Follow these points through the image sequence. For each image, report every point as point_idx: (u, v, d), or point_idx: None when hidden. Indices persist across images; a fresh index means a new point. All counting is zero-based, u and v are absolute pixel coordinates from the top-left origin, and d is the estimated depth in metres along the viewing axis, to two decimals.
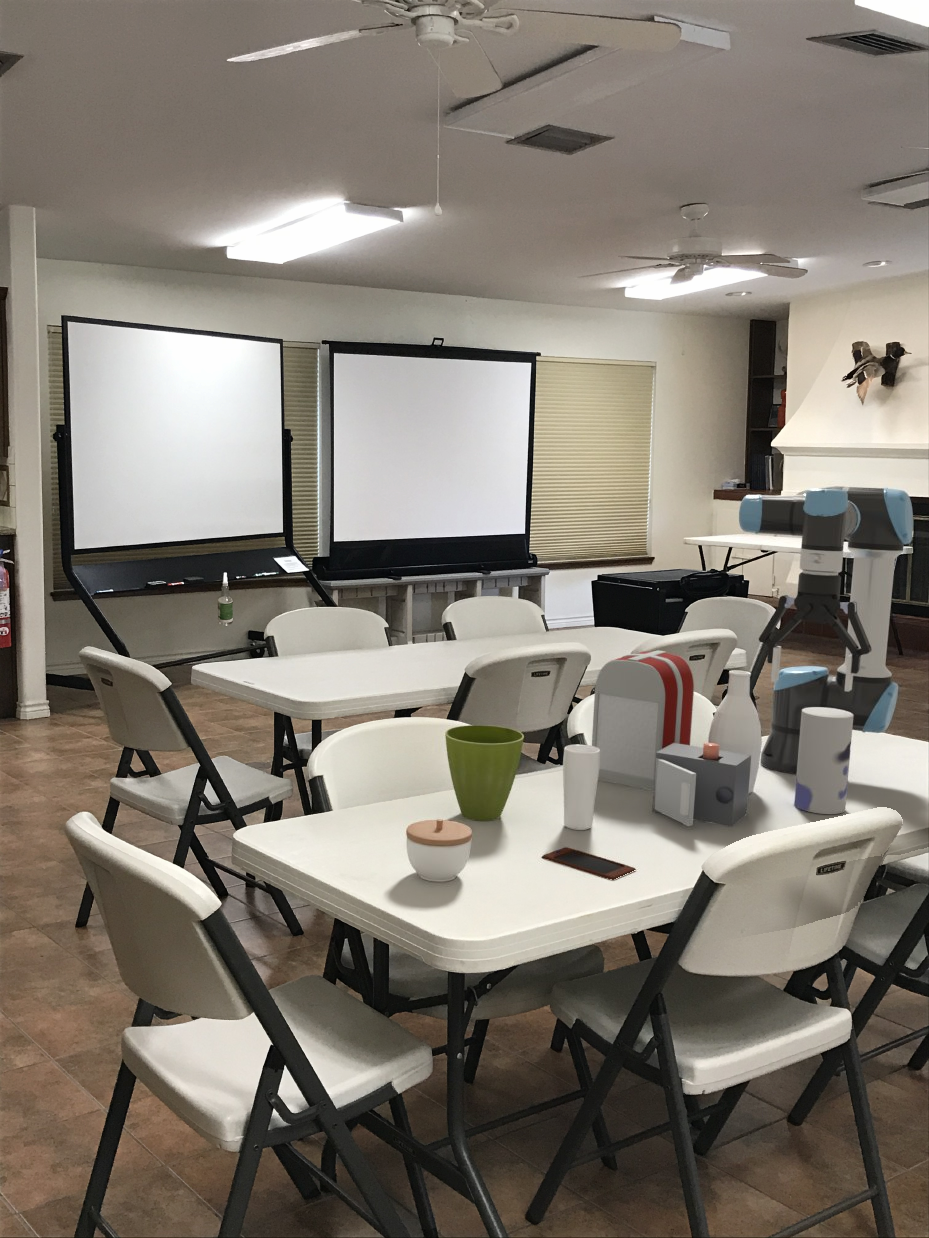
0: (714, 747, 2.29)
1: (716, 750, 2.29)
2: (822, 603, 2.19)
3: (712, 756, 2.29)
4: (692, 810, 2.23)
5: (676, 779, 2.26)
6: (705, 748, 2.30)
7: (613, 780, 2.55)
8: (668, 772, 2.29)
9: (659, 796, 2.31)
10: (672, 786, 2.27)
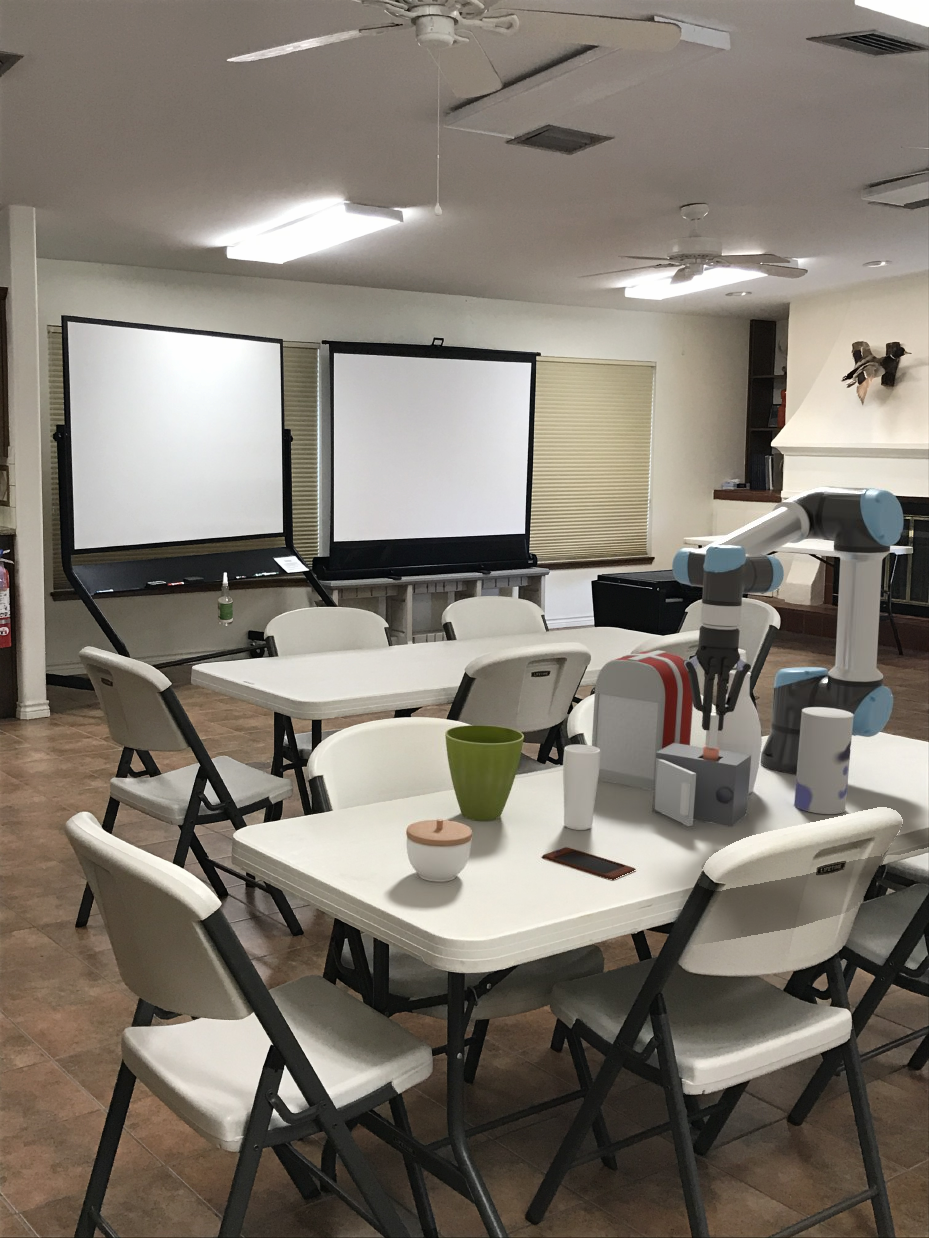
0: (714, 750, 2.29)
1: (716, 753, 2.30)
2: None
3: (712, 759, 2.30)
4: (692, 810, 2.23)
5: (676, 779, 2.26)
6: (705, 751, 2.30)
7: (613, 780, 2.55)
8: (668, 772, 2.29)
9: (659, 796, 2.31)
10: (672, 786, 2.27)
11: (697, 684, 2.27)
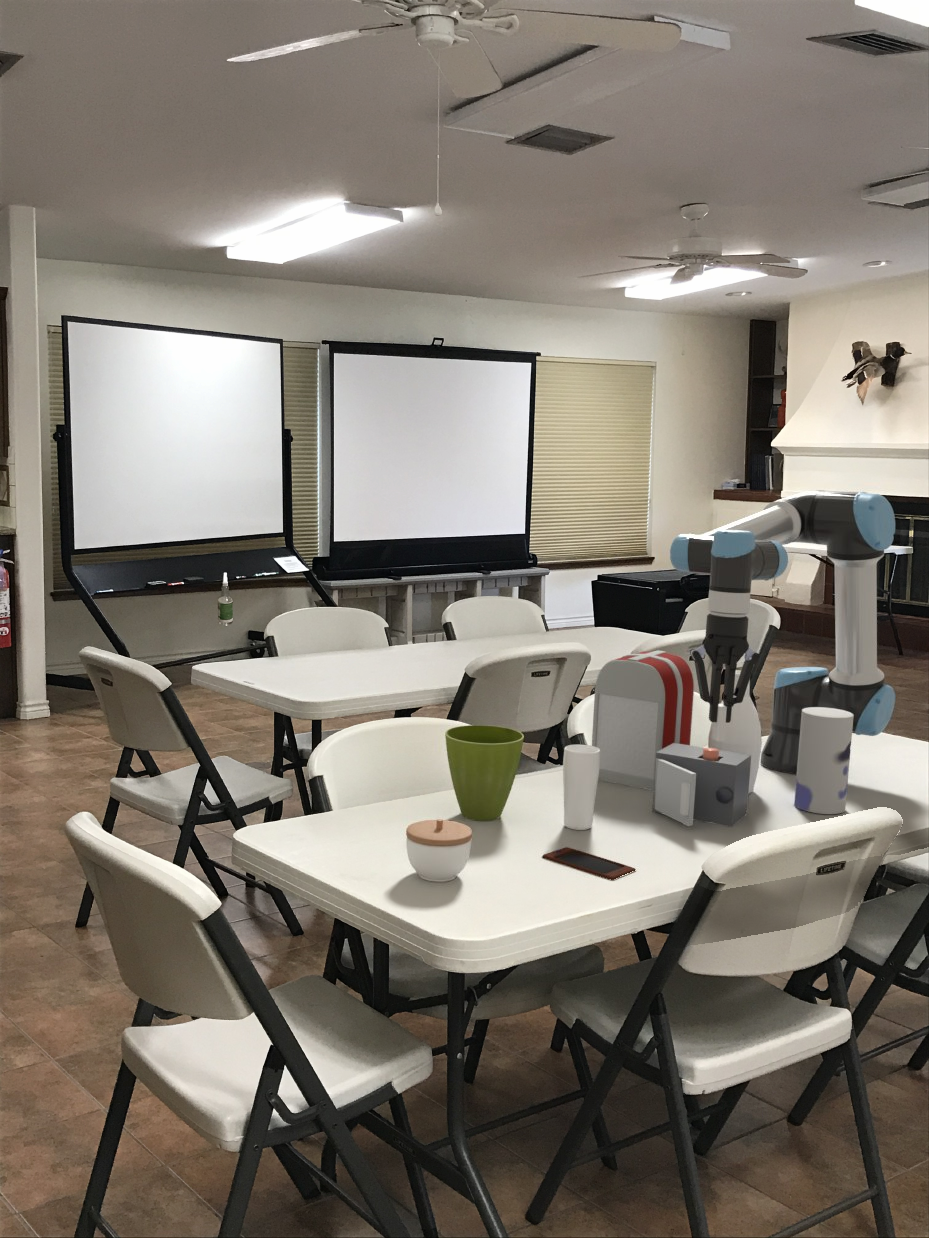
0: (714, 752, 2.29)
1: (716, 755, 2.30)
2: None
3: None
4: (692, 810, 2.23)
5: (676, 779, 2.26)
6: (705, 753, 2.30)
7: (613, 780, 2.55)
8: (668, 772, 2.29)
9: (659, 796, 2.31)
10: (672, 786, 2.27)
11: (704, 674, 2.19)
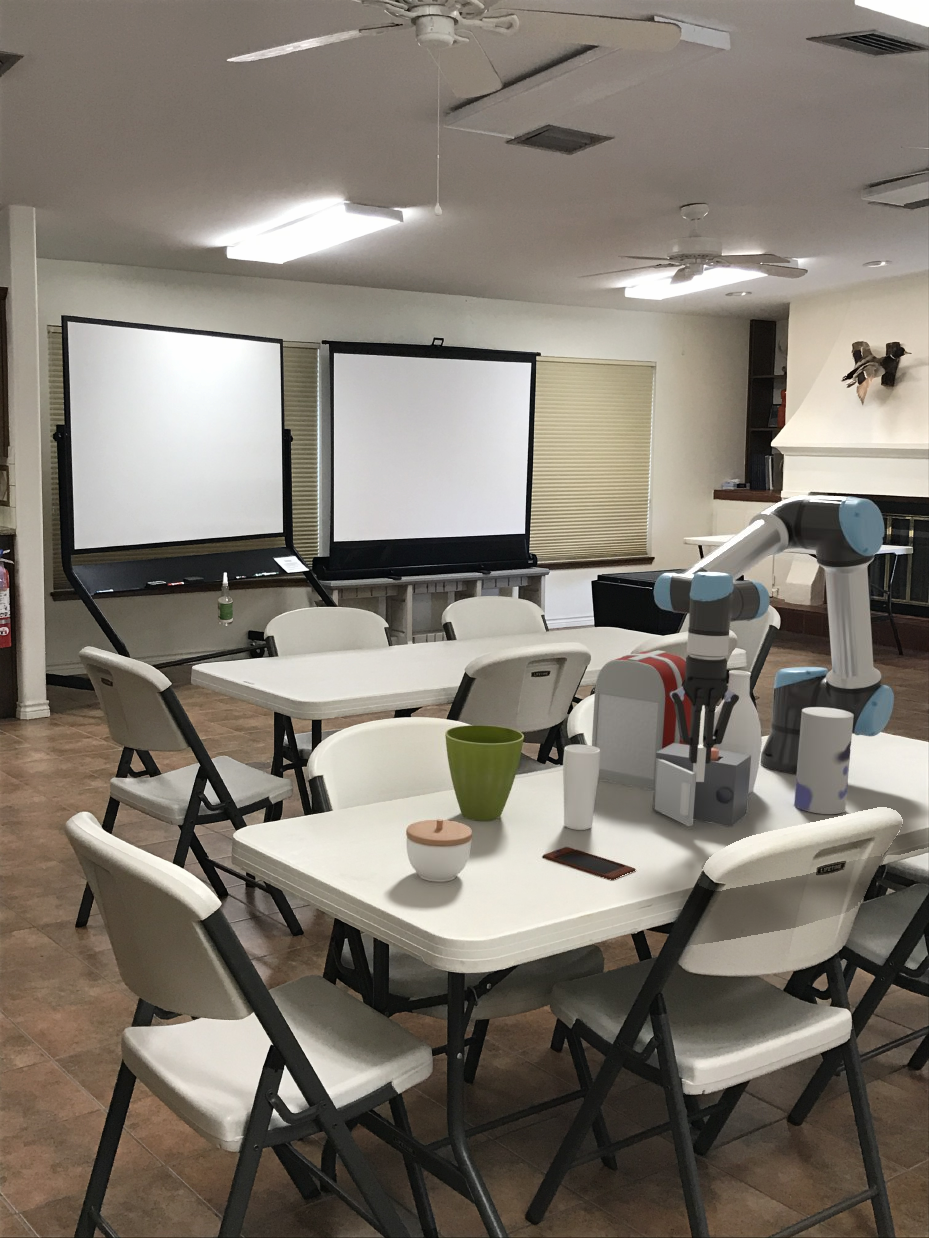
0: (714, 752, 2.29)
1: (716, 755, 2.30)
2: None
3: None
4: (692, 810, 2.23)
5: (676, 779, 2.26)
6: None
7: (613, 780, 2.55)
8: (668, 772, 2.29)
9: (659, 796, 2.31)
10: (672, 786, 2.27)
11: (684, 716, 2.20)
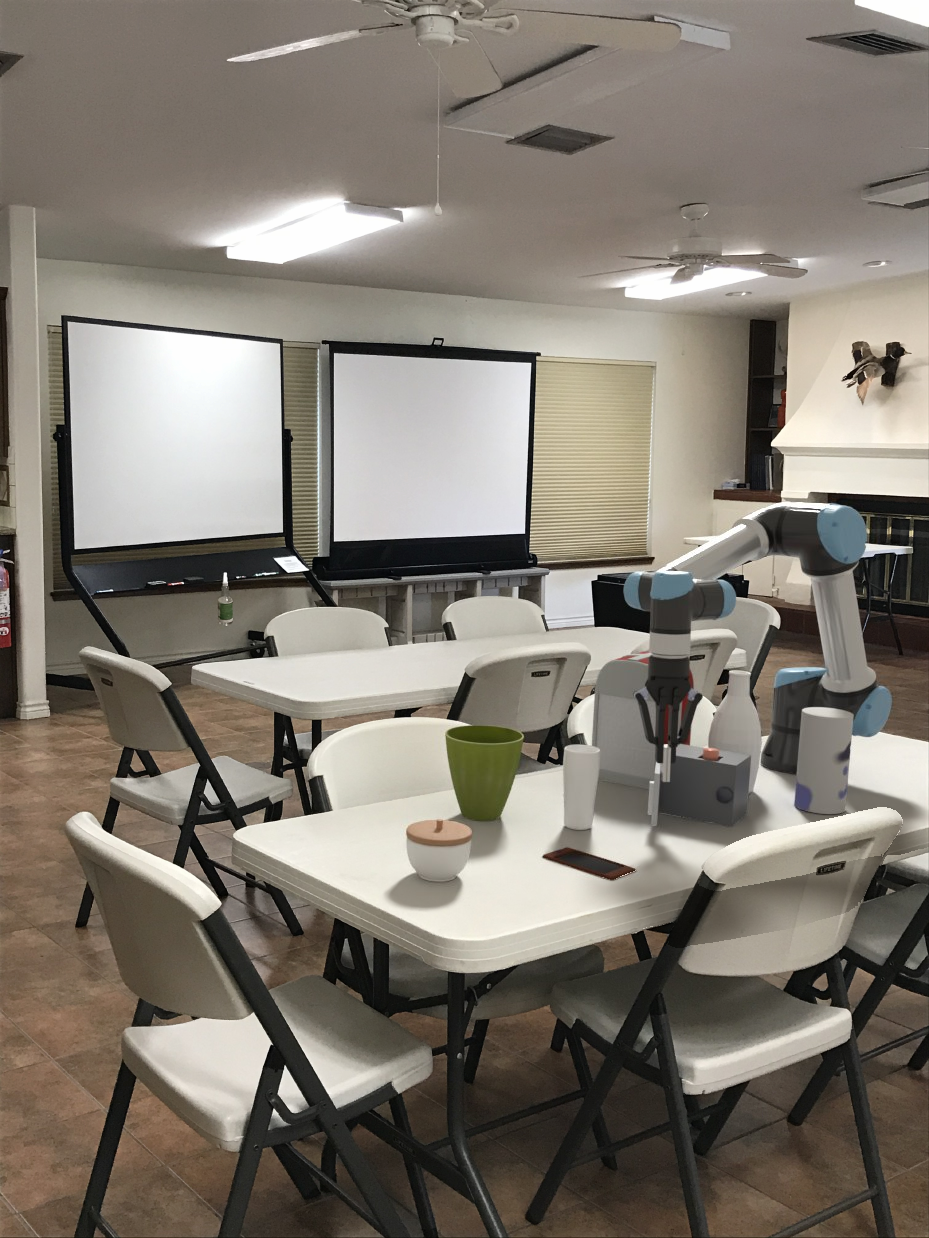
0: (714, 752, 2.29)
1: (716, 755, 2.30)
2: None
3: None
4: (656, 810, 2.22)
5: None
6: (705, 753, 2.30)
7: (613, 780, 2.55)
8: None
9: None
10: None
11: (648, 716, 2.19)
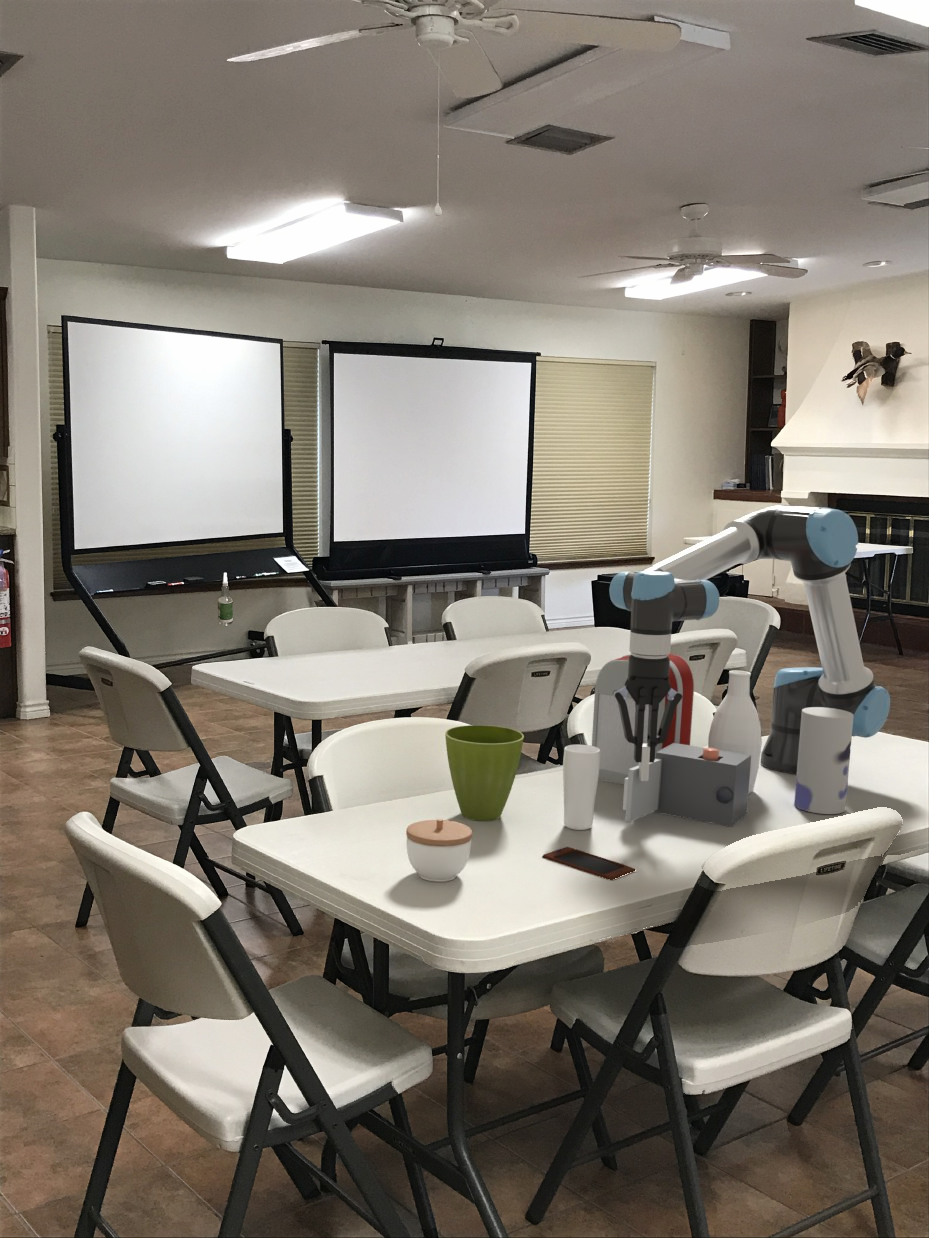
0: (714, 752, 2.29)
1: (716, 755, 2.30)
2: None
3: None
4: (629, 806, 2.24)
5: None
6: (705, 753, 2.30)
7: (613, 780, 2.55)
8: None
9: None
10: None
11: (627, 715, 2.20)
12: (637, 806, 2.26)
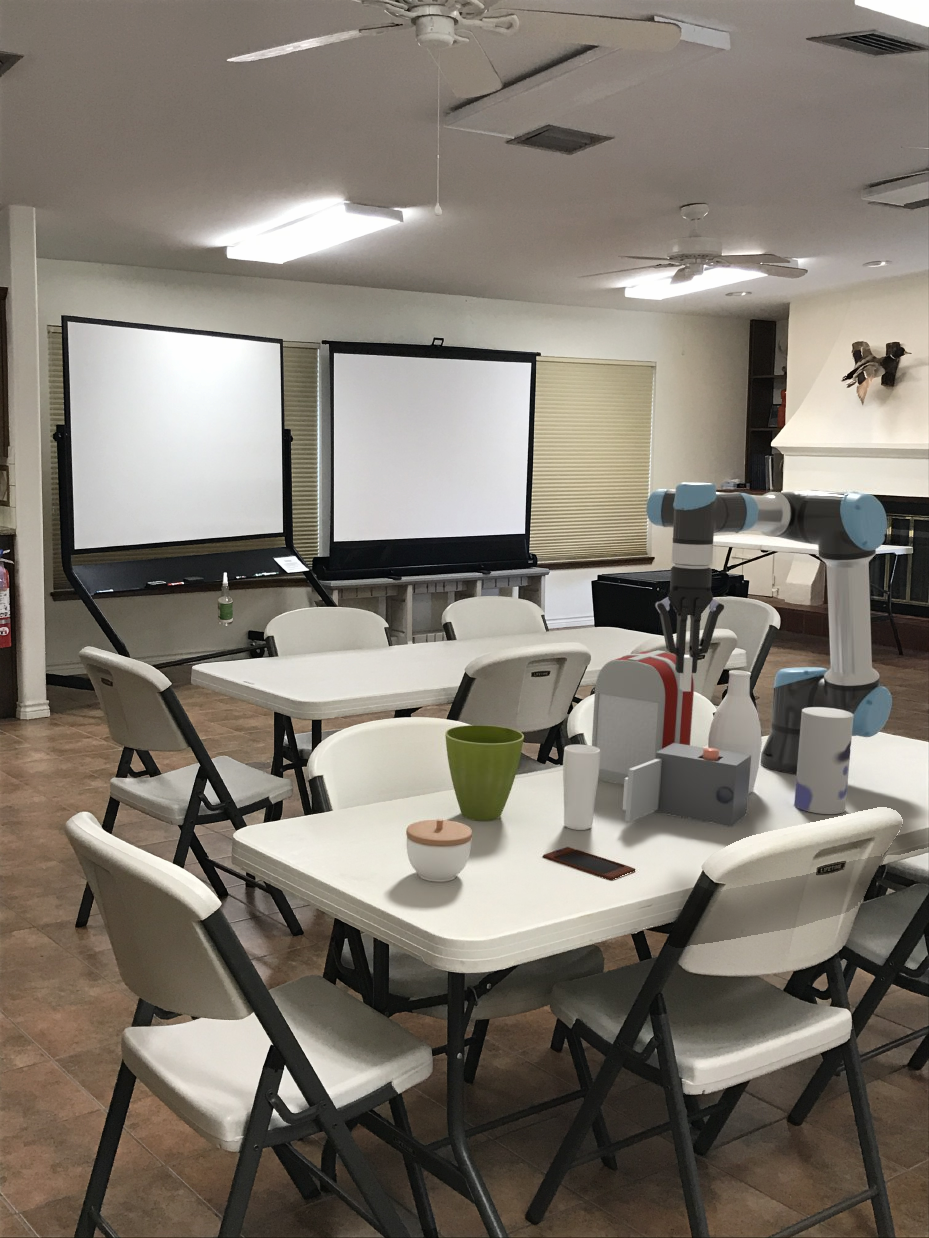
0: (714, 752, 2.29)
1: (716, 755, 2.30)
2: None
3: None
4: (629, 806, 2.24)
5: None
6: (705, 753, 2.30)
7: (613, 780, 2.55)
8: None
9: None
10: None
11: (669, 626, 2.22)
12: (636, 806, 2.26)
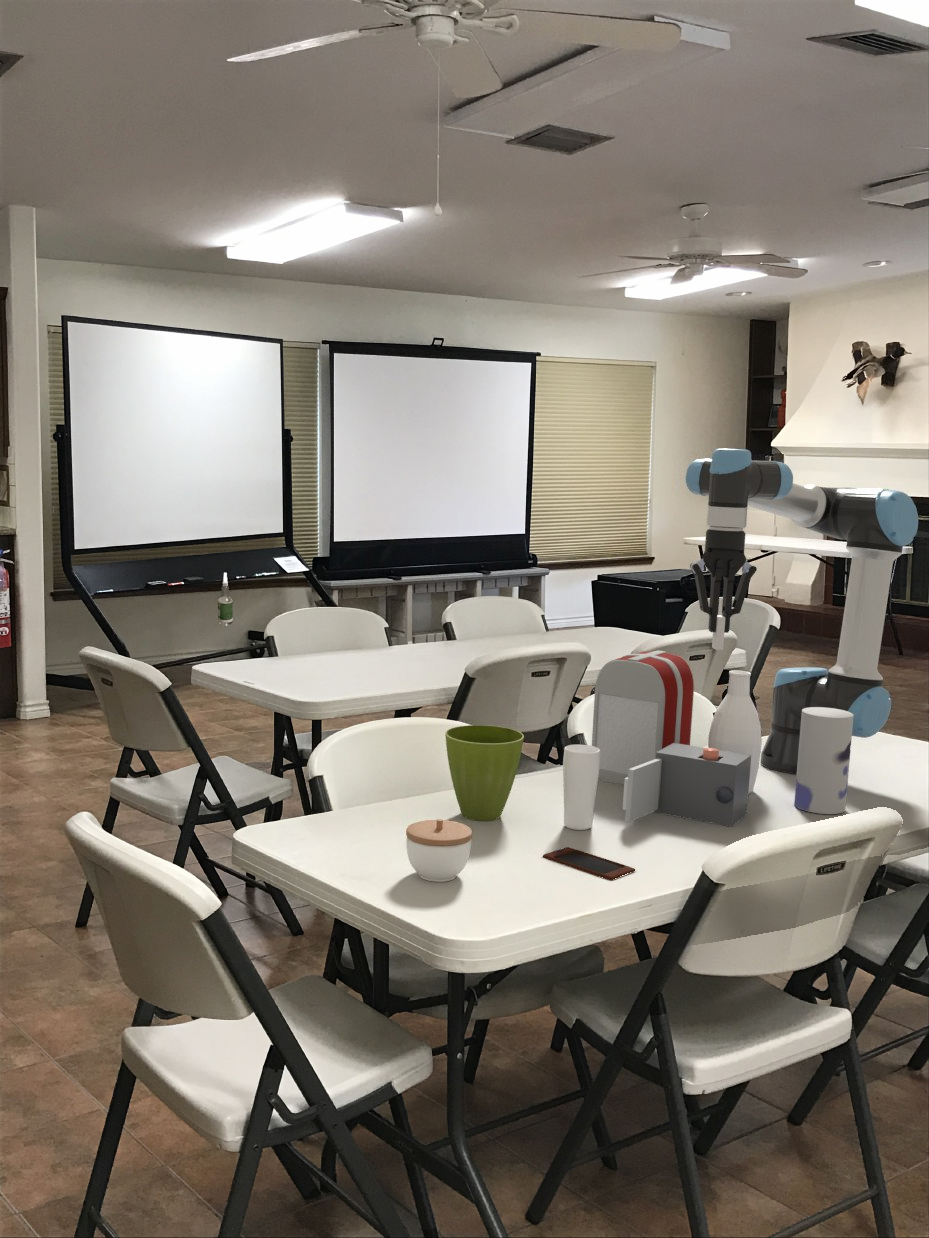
0: (714, 752, 2.29)
1: (716, 755, 2.30)
2: None
3: None
4: (629, 806, 2.24)
5: None
6: (705, 753, 2.30)
7: (613, 780, 2.55)
8: None
9: None
10: None
11: (704, 586, 2.31)
12: (636, 806, 2.26)
